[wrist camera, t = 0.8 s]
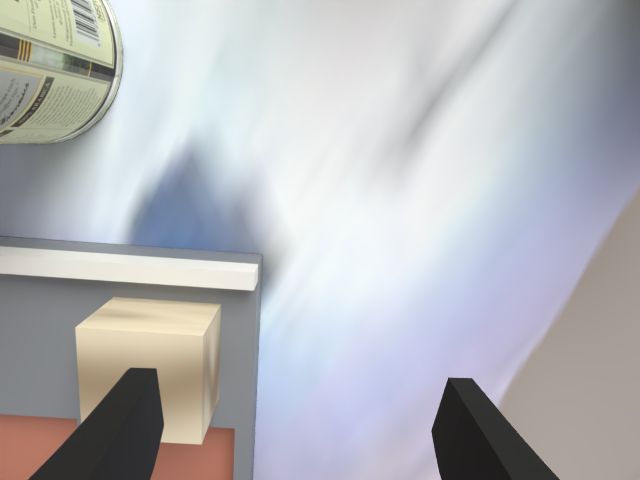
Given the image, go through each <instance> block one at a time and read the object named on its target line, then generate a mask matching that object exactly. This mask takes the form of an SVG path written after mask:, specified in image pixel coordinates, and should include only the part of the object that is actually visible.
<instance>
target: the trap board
mask: <svg viewBox="0 0 640 480" xmlns="http://www.w3.org/2000/svg"><path fill="white" fill-rule="evenodd" d="M262 262H263V254H249V253H234V252H220V251H205V250H191V249H177V248H162V247H148V246H134V245H119V244H105V243H91V242H76V241H62V240H48V239H33V238H19V237H5V236H0V480H28V479H29V478H30V477H31V476H32V475H33V474H34V473H35V472H36V471H37V470H38V469H39V468H40V467H41V466H42V465H43V464H44V463H45V462H46V461H47V460H48V459H49V458H50V457H51V456H52V455H53V453H54V452H55V451H56V450H57V449H58V448H59V447H60V446H61V445H62V444H63V443H64V442H65V441H66V440H67V438H68V437H69V436H70V435H71V434H72V433H73V432H74V431H75V430H76V429H77V428H78V426H79V425H80V424H81V413H80V397H79V380H78V364H77V348H76V332H75V327H76V326H78V325H79V324H80V323H82V322H83V321H84V320H85V319H87V318H88V317H89V316H90V315H92V314H93V313H94V312H95V311H97V310H98V309H99V308H101V307H102V306H103V305H104V304H106V303H107V302H108V301H109V300H111V299H112V298H113V297H123V298H138V299H152V300H167V301H182V302H197V303H212V304H221V331H220V377H219V400H218V402H217V405H216V408H215V410H214V413H213V416H212V418H211V421H210V424H209V426H208V429H207V432H206V434H205V437H204V440H203V442H202V445H199V444H182V443H165V442H160V446H159V450H158V454H157V458H156V462H155V466H154V470H153V473H152V476H151V479H150V480H253V464H254V442H255V419H256V397H257V374H258V352H259V330H260V307H261V285H262Z"/></svg>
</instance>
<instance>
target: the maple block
mask: <svg viewBox="0 0 640 480" xmlns="http://www.w3.org/2000/svg"><path fill="white" fill-rule="evenodd" d="M220 331H221V304H212V303H197V302H182V301H167V300H152V299H138V298H123V297H113V298H112V299H111V300H109V301H108V302H107V303H106V304H104V305H103V306H102V307H101V308H99V309H98V310H97V311H95V312H94V313H93V314H92V315H90V316H89V317H88V318H87V319H85V320H84V321H83V322H82V323H80V324H79V325H78V326H76V327H75V332H76V348H77V364H78V380H79V397H80V413H81V423H82V422H83V421H84V420H85V419H86V418H87V417H88V415H89V414H90V413H91V412H92V411H93V410H94V409H95V407H96V406H97V405H98V404H99V403H100V402H101V400H102V399H103V398H104V397H105V396H106V395H107V393H108V392H109V391H110V390H111V389H112V388H113V386H114V385H115V384H116V383H117V382H118V380H119V379H120V378H121V377H122V376H123V374H124V373H125V372H126V371H127V370H128V369H129V368H157V375H158V383H159V390H160V397H161V404H162V411H163V419H164V429H163V433H162V437H161V442H165V443H182V444H199V445H202V442H203V440H204V437H205V434H206V432H207V429H208V426H209V424H210V421H211V418H212V416H213V413H214V410H215V408H216V405H217V402H218V400H219V377H220Z"/></svg>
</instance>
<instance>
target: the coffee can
mask: <svg viewBox="0 0 640 480" xmlns="http://www.w3.org/2000/svg"><path fill="white" fill-rule="evenodd" d="M122 66H123V48H122V42H121V36H120V31H119V27H118V24H117V21H116V18H115V15H114V13H113V10H112V8H111V6H110V4H109V2H108V0H0V144H13V143H29V144H50V143H57V142H61V141H65V140H68V139H71V138H74V137H76V136H78V135H79V134H81V133H83V132H85V131H86V130H88V129H89V128H90V127H92V126H93V125H94V124H95V123H96V122H97V121H98V120H100V119H101V118H102V117H103V115H104V113H105V112H106V110H107V109H108V108H109V106H110V105H111V103H112V101H113V99H114V97H115V95H116V93H117V90H118V87H119V83H120V79H121V74H122Z"/></svg>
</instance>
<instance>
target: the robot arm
mask: <svg viewBox="0 0 640 480" xmlns="http://www.w3.org/2000/svg"><path fill="white" fill-rule="evenodd" d="M163 429H164V419H163V411H162V404H161V397H160V390H159V383H158V375H157V368H129V369H128V370H127V371H126V372H125V373H124V374H123V376H122V377H121V378H120V379H119V380H118V382H117V383H116V384H115V385H114V386H113V388H112V389H111V390H110V391H109V392H108V393H107V395H106V396H105V397H104V398H103V399H102V400H101V402H100V403H99V404H98V405H97V406H96V407H95V409H94V410H93V411H92V412H91V413H90V414H89V415H88V417H87V418H86V419H85V420H84V421H83V422H82V423H81V424H80V425H79V426H78V428H77V429H76V430H75V431H74V432H73V433H72V434H71V435H70V436H69V437H68V438H67V440H66V441H65V442H64V443H63V444H62V445H61V446H60V447H59V448H58V449H57V450H56V451H55V452H54V453H53V455H52V456H51V457H50V458H49V459H48V460H47V461H46V462H45V463H44V464H43V465H42V466H41V467H40V468H39V469H38V470H37V471H36V472H35V473H34V474H33V475H32V476H31V477H30V478H29V479H28V480H150V479H151V476H152V473H153V470H154V466H155V462H156V458H157V454H158V450H159V446H160V442H161V437H162V433H163ZM432 437H433V442H434V448H435V453H436V458H437V463H438V468H439V473H440V476H441V479H442V480H560V479H559V478H558V477H557V476H556V475H555V474H554V473H553V472H552V471H551V470H550V469H549V468H548V466H547V465H546V464H545V463H544V462H543V461H542V460H541V459H540V458H539V456H538V455H537V454H536V453H535V452H534V451H533V450H532V449H531V447H530V446H529V445H528V444H527V443H526V442H525V441H524V439H523V438H522V437H521V436H520V435H519V434H518V433H517V431H516V430H515V429H514V428H513V427H512V426H511V424H510V423H509V422H508V421H507V420H506V418H505V417H504V416H503V415H502V414H501V412H500V411H499V410H498V409H497V408H496V406H495V405H494V404H493V403H492V402H491V400H490V399H489V398H488V397H487V396H486V394H485V393H484V392H483V391H482V390H481V389H480V387H479V386H478V385H477V384H476V383H475V381H474V380H473V379H472V378H448V381H447V384H446V387H445V390H444V393H443V396H442V399H441V402H440V406H439V409H438V412H437V415H436V418H435V421H434V424H433V427H432Z"/></svg>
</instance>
